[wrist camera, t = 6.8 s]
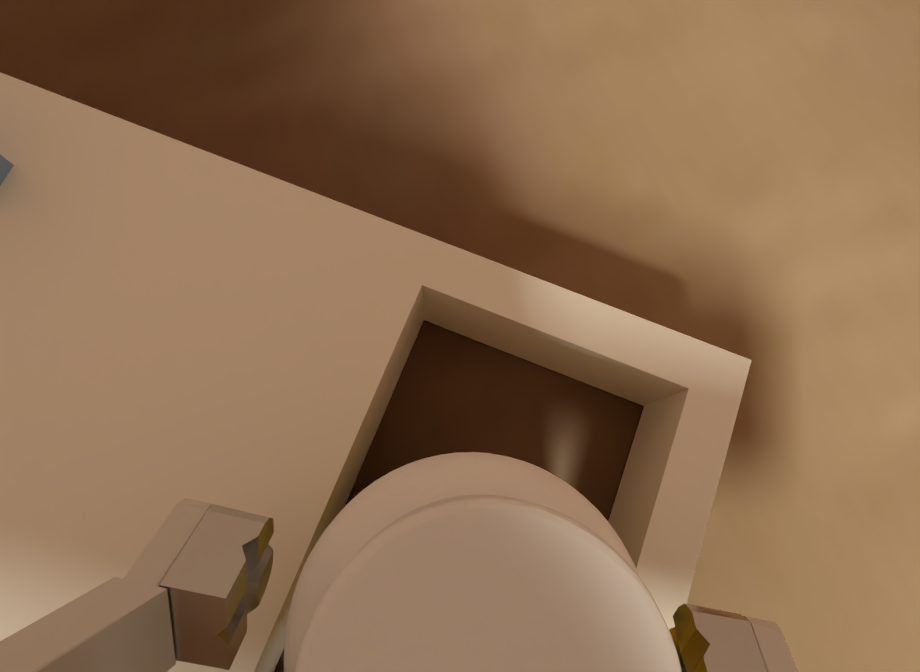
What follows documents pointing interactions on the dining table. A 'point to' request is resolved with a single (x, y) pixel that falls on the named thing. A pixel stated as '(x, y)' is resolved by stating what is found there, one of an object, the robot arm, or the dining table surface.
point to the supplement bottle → (473, 579)
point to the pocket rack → (269, 362)
